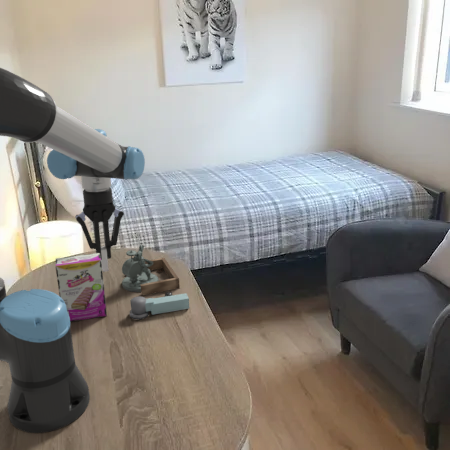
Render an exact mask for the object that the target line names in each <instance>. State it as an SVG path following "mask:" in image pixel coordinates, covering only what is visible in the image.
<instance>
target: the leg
mask: <svg viewBox="0 0 450 450" xmlns="http://www.w3.org/2000/svg"><path fill="white" fill-rule="evenodd" d="M188 309H190V298H189V296H188V293H178V294H174V295H173V294H172V296H166V297H165V296H162V297H154V298H153V297H150V298H146V297H145V296H134V297H132V298H131V299H130V310H131V312H132V313H133V314H143V313H145V312H147V311H149V312H150V313H151V315H158V314H164V313H169V312H170V313H171V312H176V311H182V310H188Z"/></svg>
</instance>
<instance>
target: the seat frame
mask: <svg viewBox="0 0 450 450" xmlns="http://www.w3.org/2000/svg"><path fill="white" fill-rule="evenodd" d="M150 261H153V265H151V266H150V267H147V268H148V269H150V271H153V270H156V273H158V274H159V273H160V274H161V273H163V271H164V272H165V274H166V276H167V277H168V278H166V279H162V280H161V279H160V280H159V281H156V282H151V283H146V284H140V285H141V292H140V294H141V296H146V295H152V294H158V293H161V292H168V291H171V290H176V289H180V286H181V285H180V278H179V276H178V275H177V273H176V272H175V271H174V270H173V268H172V267H171V265H170V264H169V262H168V261H167V259H166V258H165V257H160V258H155V259H150ZM145 264H149V263H147V262H145Z"/></svg>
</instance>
